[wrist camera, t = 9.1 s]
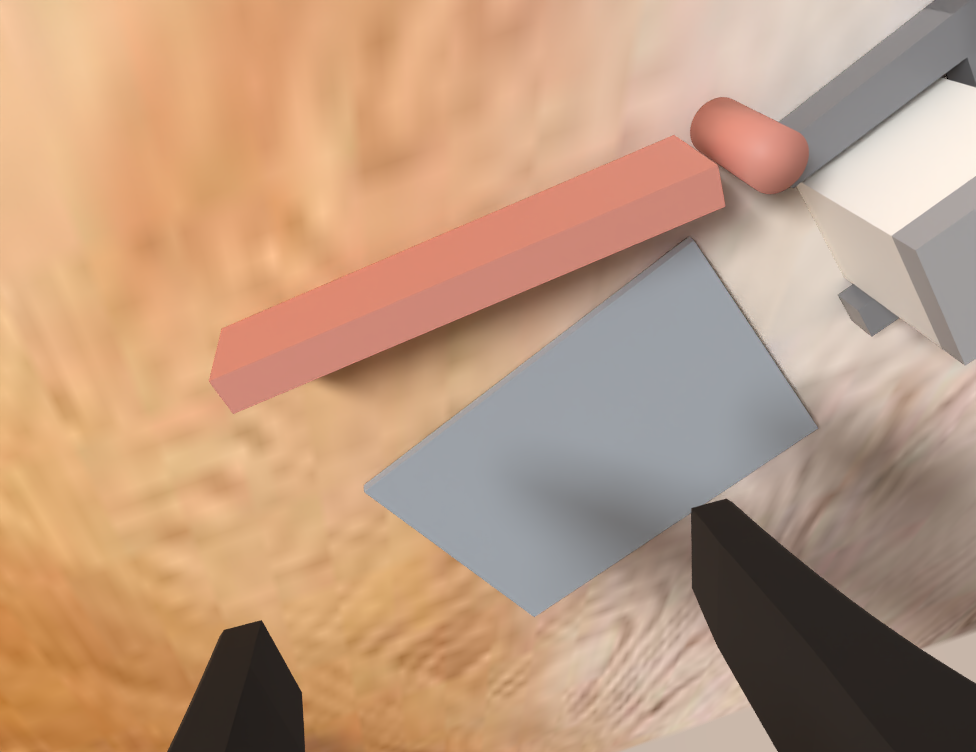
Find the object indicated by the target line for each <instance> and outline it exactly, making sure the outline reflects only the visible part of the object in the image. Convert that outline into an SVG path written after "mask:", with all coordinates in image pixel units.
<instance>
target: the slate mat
mask: <svg viewBox="0 0 976 752" xmlns="http://www.w3.org/2000/svg"><path fill="white" fill-rule="evenodd" d="M816 429H818V427H817V425H816V424H815V422H814V421H813V419H812V418H811V416H810V415H809V413H808V412H807V410H806V409H805V407H804V406H803V404H802V403H801V401H800V400H799V398H798V397H797V395H796V394H795V392H794V391H793V389H792V388H791V386H790V385H789V383H788V382H787V380H786V379H785V377H784V376H783V374H782V373H781V371H780V370H779V368H778V367H777V365H776V364H775V362H774V361H773V359H772V358H771V356H770V354H769V353H768V351H767V350H766V348H765V347H764V345H763V344H762V342H761V341H760V339H759V338H758V336H757V335H756V333H755V332H754V330H753V329H752V327H751V326H750V324H749V323H748V321H747V320H746V318H745V317H744V315H743V314H742V312H741V311H740V309H739V308H738V306H737V305H736V303H735V302H734V300H733V299H732V297H731V296H730V294H729V293H728V291H727V290H726V288H725V287H724V285H723V284H722V282H721V281H720V279H719V278H718V276H717V275H716V273H715V272H714V270H713V269H712V267H711V266H710V264H709V263H708V261H707V259H706V258H705V256H704V255H703V253H702V252H701V250H700V249H699V247H698V246H697V244H696V243H695V241H694V240H693V239H692V238H691V237H690V236H689V237H688V238H686V239H685V240H684V241H682V242H681V243H680V244H678V245H677V246H676V247H674V248H673V249H672V250H671V251H669V252H668V253H667V254H665V255H664V256H663V257H661V258H660V259H659V260H658V261H656V262H655V263H654V264H652V265H651V266H650V267H648V268H647V269H646V270H644V271H643V272H642V273H641V274H639V275H638V276H637V277H635V278H634V279H633V280H631V281H630V282H629V283H627V284H626V285H625V286H624V287H622V288H621V289H620V290H618V291H617V292H616V293H614V294H613V295H612V296H610V297H609V298H608V299H607V300H605V301H604V302H603V303H601V304H600V305H599V306H597V307H596V308H595V309H593V310H592V311H591V312H590V313H588V314H587V315H586V316H584V317H583V318H582V319H580V320H579V321H578V322H576V323H575V324H574V325H573V326H571V327H570V328H569V329H567V330H566V331H565V332H563V333H562V334H561V335H559V336H558V337H557V338H556V339H554V340H553V341H552V342H550V343H549V344H548V345H546V346H545V347H544V348H542V349H541V350H540V351H539V352H537V353H536V354H535V355H533V356H532V357H531V358H529V359H528V360H527V361H526V362H524V363H523V364H522V365H520V366H519V367H518V368H516V369H515V370H514V371H512V372H511V373H510V374H509V375H507V376H506V377H505V378H503V379H502V380H501V381H499V382H498V383H497V384H495V385H494V386H493V387H492V388H490V389H489V390H488V391H486V392H485V393H484V394H482V395H481V396H480V397H478V398H477V399H476V400H475V401H473V402H472V403H471V404H469V405H468V406H467V407H465V408H464V409H463V410H461V411H460V412H459V413H458V414H456V415H455V416H454V417H452V418H451V419H450V420H448V421H447V422H446V423H444V424H443V425H442V426H441V427H439V428H438V429H437V430H435V431H434V432H433V433H431V434H430V435H429V436H427V437H426V438H425V439H424V440H422V441H421V442H420V443H418V444H417V445H416V446H414V447H413V448H412V449H411V450H409V451H408V452H407V453H405V454H404V455H403V456H401V457H400V458H399V459H397V460H396V461H395V462H394V463H392V464H391V465H390V466H388V467H387V468H386V469H384V470H383V471H382V472H380V473H379V474H378V475H377V476H375V477H374V478H373V479H371V480H370V481H369V482H367V483H366V484H365V485H364V492H365V493H366V494H368V495H369V496H370V497H372V498H373V499H374V500H376V501H377V502H378V503H380V504H381V505H383V506H384V507H385V508H387V509H388V510H389V511H391V512H392V513H393V514H395V515H396V516H398V517H399V518H400V519H402V520H403V521H404V522H406V523H407V524H408V525H410V526H411V527H412V528H414V529H415V530H417V531H418V532H419V533H421V534H422V535H423V536H425V537H426V538H427V539H429V540H430V541H432V542H433V543H434V544H436V545H437V546H438V547H440V548H441V549H442V550H444V551H445V552H447V553H448V554H449V555H451V556H452V557H453V558H455V559H456V560H457V561H459V562H460V563H461V564H463V565H464V566H466V567H467V568H468V569H470V570H471V571H472V572H474V573H475V574H476V575H478V576H479V577H481V578H482V579H483V580H485V581H486V582H487V583H489V584H490V585H491V586H493V587H494V588H496V589H497V590H498V591H500V592H501V593H502V594H504V595H505V596H506V597H508V598H509V599H510V600H512V601H513V602H515V603H516V604H517V605H519V606H520V607H521V608H523V609H524V610H525V611H527V612H528V613H530V614H531V615H532V616H534V617H535V616H537V615H538V614H540V613H541V612H543V611H544V610H546V609H547V608H549V607H550V606H552V605H553V604H555V603H556V602H558V601H559V600H561V599H562V598H564V597H565V596H567V595H568V594H570V593H571V592H573V591H574V590H576V589H577V588H579V587H580V586H582V585H583V584H585V583H586V582H588V581H589V580H591V579H592V578H594V577H595V576H597V575H598V574H600V573H601V572H603V571H604V570H606V569H607V568H609V567H610V566H612V565H613V564H615V563H616V562H618V561H619V560H621V559H622V558H624V557H625V556H627V555H628V554H630V553H631V552H633V551H634V550H636V549H637V548H639V547H640V546H642V545H643V544H645V543H646V542H648V541H649V540H651V539H652V538H654V537H655V536H657V535H658V534H660V533H661V532H663V531H664V530H666V529H667V528H669V527H670V526H672V525H674V524H675V523H677V522H678V521H680V520H681V519H683V518H684V517H686V516H687V515H689V514H690V513H691V508H693V507H697V506H701V505H704V504H705V503H707V502H708V501H710V500H711V499H713V498H714V497H716V496H717V495H719V494H720V493H722V492H723V491H725V490H726V489H728V488H729V487H731V486H732V485H734V484H735V483H737V482H738V481H740V480H741V479H743V478H744V477H746V476H747V475H749V474H750V473H752V472H753V471H755V470H756V469H758V468H759V467H761V466H762V465H764V464H765V463H767V462H768V461H770V460H771V459H773V458H774V457H776V456H777V455H779V454H780V453H782V452H783V451H785V450H786V449H788V448H789V447H791V446H792V445H794V444H795V443H797V442H798V441H800V440H801V439H803V438H804V437H806V436H807V435H809V434H810V433H812V432H813V431H815V430H816Z"/></svg>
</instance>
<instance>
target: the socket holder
mask: <svg viewBox="0 0 976 752" xmlns="http://www.w3.org/2000/svg"><path fill="white" fill-rule="evenodd" d="M945 73H946V74H947V77H948V80H951V81H955V82H958V83H962V84H965V85H969V86H972V87H976V0H934V1H933V2H932V3H931V4H929V5H928V6H927V7H925V8H924V9H923V10H922V11H920V12H919V13H918V14H916V15H915V16H914V17H913V18H911V19H910V20H909V21H907V22H906V23H905V24H904V25H902V26H901V27H900V28H899V29H897V30H896V31H895V32H893V33H892V34H891V35H890V36H888V37H887V38H886V39H884V40H883V41H882V42H881V43H879V44H878V45H877V46H875V47H874V48H873V49H872V50H870V51H869V52H868V53H867V54H865V55H864V56H863V57H861V58H860V59H859V60H858V61H856V62H855V63H854V64H852V65H851V66H850V67H849V68H847V69H846V70H845V71H843V72H842V73H841V74H840V75H838V76H837V77H836V78H835V79H833V80H832V81H831V82H829V83H828V84H827V85H826V86H824V87H823V88H822V89H820V90H819V91H818V92H817V93H815V94H814V95H813V96H811V97H810V98H809V99H808V100H806V101H805V102H804V103H803V104H801V105H800V106H799V107H797V108H796V109H795V110H794V111H792V112H791V113H790V114H788V115H787V116H786V117H785V118H783V119H782V120H781V121H779V123H781V124H783V125H785V126H787V127H789V128H791V129H793V130H795V131H797V132H799V133H800V134H802V135H803V136H804V138H805V139H806V141H807V144H808V148H809V158H808V162H807V165H806V168H805V170H804V172H803V173H802V175H801V176H800V178H799V179H798V180H797V181H796V182H795V183H794V184H793V185H792V186H790V187H792V188H794V187H796V186H797V185H798V184H800V183H801V182H802V181H804V180H805V179H806V178H808V177H809V176H810V175H812V174H813V173H814V172H815V171H817V170H818V169H819V168H821V167H822V166H823V165H825V164H826V163H827V162H829V161H830V160H831V159H833V158H834V157H835V156H837V155H838V154H839V153H841V152H842V151H843V150H845V149H846V148H847V147H849V146H850V145H851V144H853V143H854V142H855V141H857V140H858V139H859V138H861V137H862V136H863V135H865V134H866V133H867V132H869V131H870V130H871V129H873V128H874V127H875V126H876V125H878V124H879V123H880V122H882V121H883V120H884V119H886V118H887V117H888V116H890V115H891V114H892V113H894V112H895V111H896V110H898V109H899V108H900V107H902V106H903V105H904V104H906V103H907V102H908V101H910V100H911V99H912V98H914V97H915V96H916V95H918V94H919V93H920V92H922V91H923V90H924V89H926V88H927V87H928V86H930V85H931V84H932V83H934V82H935V81H936V80H937V79H939V78H940V77H941V76H943V75H944V74H945ZM838 296H839V298H840V300H841V302H842V303H843V305H844V307H845V309H846V311H847V313H848V314H849V316H850V318H851V320H852V321H853V322H854V323H856V324H857V325H858V326H859V327H860V328H862V329H863V330H864V331H865V332H867V333H868V334H869V335H870V336H874V335H875V334H876V333H878V332H879V331H881V330H882V329H884V328H885V327H887V326H888V325H890V324H891V323H893V322H894V321H895V320H897V319H898V318H899V317H898V316H897V315H895V314H894V313H892V312H891V311H890V310H888V309H887V308H886V307H884V306H883V305H881V304H880V303H879V302H877V301H876V300H875V299H873V298H872V297H871V296H869V295H868V294H866V293H865V292H864V291H862V290H861V289H860V288H858V287H857V286H855V285H854V284H853V285H851V286H850V287H848V288H847V289H846V290H844V291H843V292H841V293H840V294H839V295H838Z"/></svg>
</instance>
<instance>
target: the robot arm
mask: <svg viewBox="0 0 976 752" xmlns="http://www.w3.org/2000/svg"><path fill="white" fill-rule="evenodd" d="M691 534H692V589H693V591H694V593H695V596H696V598H697V600H698V603H699V605H700V608H701V610H702V612H703V615H704V617H705V619H706V622H707V624H708V626H709V628H710V631H711V633H712V635H713V637H714V640H715V642H716V644H717V646H718V648H719V650H720V651H721V653H722V655H723V657H724V659H725V660H726V662H727V664H728V666H729V667H730V669H731V671H732V673H733V674H734V676H735V678H736V680H737V681H738V683H739V685H740V687H741V689H742V690H743V692H744V694H745V696H746V697H747V699H748V701H749V702H750V704H751V706H752V708H753V709H754V711H755V713H756V715H757V716H758V718H759V720H760V721H761V723H762V725H763V727H764V728H765V730H766V732H767V734H768V735H769V737H770V739H771V741H772V742H773V744H774V746H775V748H776V749H777V751H778V752H976V683H974V682H972V681H971V680H969V679H967V678H966V677H964V676H962V675H961V674H959V673H958V672H956V671H955V670H953V669H951V668H950V667H948V666H947V665H945V664H943V663H942V662H940V661H938V660H937V659H935V658H934V657H932V656H931V655H929V654H927V653H926V652H924V651H923V650H921V649H920V648H918V647H917V646H915V645H914V644H912V643H911V642H909V641H908V640H906V639H905V638H904V637H902V636H901V635H899V634H898V633H896V632H895V631H893V630H892V629H891V628H889V627H888V626H886V625H885V624H883V623H882V622H881V621H879V620H878V619H876V618H875V617H873V616H872V615H871V614H869V613H868V612H866V611H865V610H864V609H862V608H861V607H860V606H858V605H857V604H856V603H854V602H853V601H852V600H850V599H849V598H848V597H846V596H845V595H844V594H842V593H841V592H840V591H838V590H837V589H836V588H835V587H833V586H832V585H831V584H829V583H828V582H827V581H826V580H824V579H823V578H822V577H820V576H819V575H818V574H816V573H815V572H814V571H813V570H811V569H810V568H809V567H808V566H806V565H805V564H804V563H803V562H801V561H800V560H799V559H798V558H797V557H795V556H794V555H793V554H792V553H790V552H789V551H788V550H787V549H786V548H784V547H783V546H782V545H781V544H780V543H778V542H777V541H776V540H775V539H774V538H773V537H771V536H770V535H769V534H768V533H767V532H766V531H764V530H763V529H762V528H761V527H760V526H759V525H757V524H756V523H755V522H754V521H753V520H752V519H751V518H749V517H748V516H747V515H746V514H745V513H744V512H743V511H741V510H740V509H739V508H738V507H737V506H736V505H735V504H734V503H733V502H731V501H729V500H727V499H724V500H720V501H716V502H712V503H708V504H705V505H701V506H697V507H693V508H691ZM167 752H305V741H304V721H303V704H302V692H301V690H300V688H299V687H298V685H297V683H296V681H295V679H294V677H293V676H292V674H291V672H290V670H289V668H288V667H287V665H286V663H285V661H284V659H283V658H282V656H281V654H280V652H279V650H278V649H277V647H276V645H275V643H274V641H273V640H272V638H271V636H270V634H269V632H268V631H267V629H266V627H265V625H264V623H263V622H262V620H261V621H257V622H253V623H249V624H245V625H242V626H238V627H234V628H230V629H226V630H224V631H223V633H222V634H221V635H220V637H219V639H218V642H217V644H216V646H215V649H214V651H213V653H212V656H211V658H210V660H209V662H208V665H207V667H206V669H205V672H204V674H203V676H202V678H201V681H200V683H199V685H198V687H197V690H196V692H195V694H194V696H193V698H192V701H191V703H190V705H189V707H188V709H187V711H186V714H185V716H184V718H183V720H182V722H181V724H180V726H179V728H178V731H177V733H176V735H175V737H174V739H173V741H172V743H171V745H170V747H169V749H168V751H167Z"/></svg>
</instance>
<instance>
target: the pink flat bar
mask: <svg viewBox="0 0 976 752" xmlns="http://www.w3.org/2000/svg"><path fill="white" fill-rule="evenodd" d="M690 135H691V140H692V143H693V145H694V146H695V148H696V149H697V150H698V151H700V152H701V153H703V154H704V155H706V156H707V157H709V158H710V159H711V160H713V161H714V162H716V163H717V164H719V165H720V166H722V167H723V168H725V169H726V170H728V171H729V172H731V173H732V174H734V175H735V176H737V177H738V178H739V179H741V180H742V181H744V182H745V183H747V184H748V185H750V186H751V187H753V188H754V189H756V190H757V191H759V192H761V193H765V194H774V193H779V192H781V191H784V190H786V189H787V188H789V187H790V186H792V185H793V184H794V183H795V182H796V181H797V180H798V179H799V178H800V176H801V175H802V173H803V172H804V170H805V168H806V165H807V162H808V158H809V148H808V144H807V141H806V139H805V138H804V136H803V135H802V134H800V133H799V132H797V131H795V130H793V129H791V128H789V127H787V126H785V125H783V124H781V123H779V122H777V121H775V120H773V119H771V118H769V117H767V116H765V115H763V114H761V113H759V112H757V111H755V110H753V109H751V108H749V107H747V106H745V105H743V104H741V103H739V102H737V101H735V100H733V99H730V98H726V97H720V98H715V99H713V100H711V101H709V102H707V103H706V104H704V105H703V106H702V107H701V108H700V109H699V111H698V112H697V113H696V115H695V117H694V119H693V121H692V124H691V130H690ZM697 150H695V149H694V148H692V147H691V146H689V145H688V144H686V143H685V142H683V141H682V140H680V139H679V138H678V137H676V136H675V135H673V136H671V137H668V138H666V139H664V140H661V141H659V142H657V143H654V144H652V145H650V146H647V147H645V148H643V149H640V150H638V151H636V152H633V153H631V154H629V155H626V156H624V157H622V158H619V159H617V160H615V161H612V162H610V163H607V164H605V165H603V166H600V167H598V168H596V169H593V170H591V171H589V172H586V173H584V174H582V175H579V176H577V177H575V178H572V179H570V180H568V181H565V182H563V183H561V184H558V185H556V186H554V187H551V188H549V189H547V190H544V191H542V192H540V193H537V194H535V195H533V196H530V197H528V198H526V199H523V200H521V201H519V202H516V203H514V204H512V205H509V206H507V207H505V208H502V209H500V210H498V211H495V212H493V213H491V214H488V215H486V216H484V217H481V218H479V219H477V220H474V221H472V222H470V223H467V224H465V225H463V226H460V227H458V228H456V229H453V230H451V231H449V232H446V233H444V234H442V235H439V236H437V237H435V238H432V239H430V240H428V241H425V242H423V243H421V244H418V245H416V246H414V247H411V248H409V249H407V250H404V251H402V252H400V253H397V254H395V255H393V256H390V257H388V258H385V259H383V260H381V261H378V262H376V263H374V264H371V265H369V266H367V267H364V268H362V269H360V270H357V271H355V272H353V273H350V274H348V275H346V276H343V277H341V278H339V279H336V280H334V281H332V282H329V283H327V284H325V285H322V286H320V287H318V288H315V289H313V290H311V291H308V292H306V293H304V294H301V295H299V296H297V297H294V298H292V299H290V300H287V301H285V302H283V303H280V304H278V305H276V306H273V307H271V308H269V309H266V310H264V311H262V312H259V313H257V314H255V315H252V316H250V317H248V318H245V319H243V320H241V321H238V322H236V323H234V324H231V325H229V326H227V327H224V328H222V329H221V333H220V338H219V342H218V346H217V350H216V354H215V358H214V362H213V366H212V370H211V374H210V379H209V382H210V384H211V385H212V386H213V388H214V389H215V390H216V392H217V393H218V394H219V396H220V397H221V398H222V400H223V401H224V402H225V404H226V405H227V406H228V408H229V409H230V410H231V412H232V413H233V414H234V413H237V412H239V411H241V410H244V409H246V408H249V407H251V406H253V405H256V404H258V403H260V402H263V401H265V400H268V399H270V398H272V397H275V396H277V395H279V394H282V393H284V392H287V391H289V390H291V389H294V388H296V387H298V386H301V385H303V384H306V383H308V382H310V381H313V380H315V379H317V378H320V377H322V376H325V375H327V374H329V373H332V372H334V371H336V370H339V369H341V368H344V367H346V366H348V365H351V364H353V363H355V362H358V361H360V360H362V359H365V358H367V357H370V356H372V355H374V354H377V353H379V352H381V351H384V350H386V349H389V348H391V347H393V346H396V345H398V344H400V343H403V342H405V341H408V340H410V339H412V338H415V337H417V336H419V335H422V334H424V333H427V332H429V331H431V330H434V329H436V328H438V327H441V326H443V325H446V324H448V323H450V322H453V321H455V320H457V319H460V318H462V317H465V316H467V315H469V314H472V313H474V312H476V311H479V310H481V309H484V308H486V307H488V306H491V305H493V304H495V303H498V302H500V301H502V300H505V299H507V298H510V297H512V296H514V295H517V294H519V293H521V292H524V291H526V290H529V289H531V288H533V287H536V286H538V285H540V284H543V283H545V282H548V281H550V280H552V279H555V278H557V277H559V276H562V275H564V274H567V273H569V272H571V271H574V270H576V269H578V268H581V267H583V266H586V265H588V264H590V263H593V262H595V261H597V260H600V259H602V258H605V257H607V256H609V255H612V254H614V253H616V252H619V251H621V250H624V249H626V248H628V247H631V246H633V245H635V244H638V243H640V242H643V241H645V240H647V239H650V238H652V237H654V236H657V235H659V234H661V233H664V232H666V231H669V230H671V229H673V228H676V227H678V226H680V225H683V224H685V223H688V222H690V221H692V220H695V219H697V218H699V217H702V216H704V215H707V214H709V213H711V212H714V211H716V210H718V209H721V208H723V207H725V201H724V196H723V190H722V184H721V179H720V173H719V167H718V165H717V164H716V163H714V162H713V161H711V160H710V159H708V158H707V157H705V156H704V155H702V154H701V153H700V152H698V151H697Z"/></svg>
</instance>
